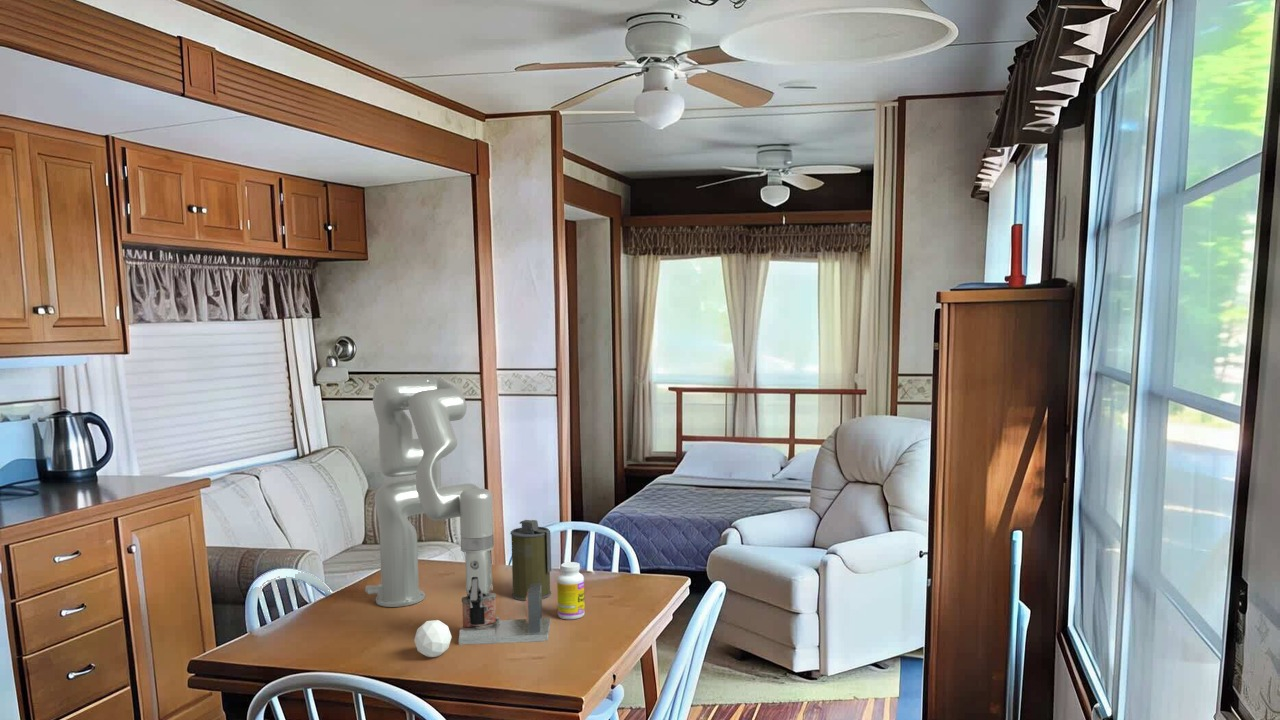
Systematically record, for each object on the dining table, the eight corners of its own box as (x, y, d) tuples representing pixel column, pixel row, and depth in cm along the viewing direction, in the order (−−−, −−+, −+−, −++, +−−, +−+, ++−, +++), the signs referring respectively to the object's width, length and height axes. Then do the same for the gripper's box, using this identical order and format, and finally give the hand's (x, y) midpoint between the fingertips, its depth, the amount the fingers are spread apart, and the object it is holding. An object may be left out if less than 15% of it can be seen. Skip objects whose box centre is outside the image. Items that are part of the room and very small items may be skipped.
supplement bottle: (580, 621, 202) (579, 568, 202) (554, 619, 203) (553, 567, 203) (588, 612, 209) (586, 561, 208) (562, 610, 210) (561, 560, 210)
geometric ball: (429, 664, 184) (429, 629, 189) (458, 655, 182) (458, 619, 186) (406, 658, 178) (407, 621, 183) (436, 648, 176) (436, 611, 180)
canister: (504, 598, 221) (502, 524, 220) (524, 587, 230) (522, 515, 230) (540, 603, 216) (538, 526, 216) (559, 591, 226) (557, 518, 225)
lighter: (464, 633, 191) (463, 590, 190) (460, 628, 194) (459, 586, 193) (498, 627, 194) (497, 585, 194) (494, 622, 197) (493, 581, 197)
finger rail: (458, 644, 188) (457, 598, 188) (466, 627, 199) (465, 584, 199) (547, 641, 189) (546, 595, 189) (550, 624, 200) (548, 581, 200)
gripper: (488, 551, 185) (490, 632, 186) (497, 533, 202) (499, 607, 203) (454, 552, 185) (456, 634, 185) (466, 534, 201) (468, 608, 202)
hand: (479, 619), depth 194 cm, fingers open, 4 cm apart
